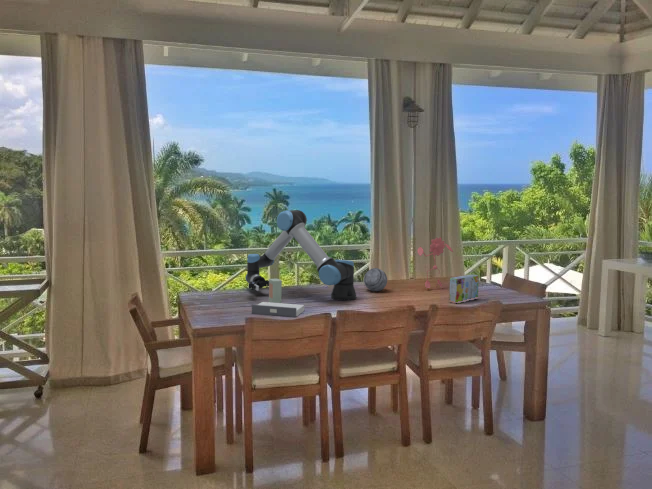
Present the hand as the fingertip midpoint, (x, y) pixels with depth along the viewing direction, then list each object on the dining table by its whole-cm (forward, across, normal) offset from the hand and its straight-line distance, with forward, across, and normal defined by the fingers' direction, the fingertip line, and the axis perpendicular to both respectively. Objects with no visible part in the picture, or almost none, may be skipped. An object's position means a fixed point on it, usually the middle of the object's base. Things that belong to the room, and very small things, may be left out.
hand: (269, 287), depth 304 cm
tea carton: (+10, 0, -8) cm, 12 cm away
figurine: (+9, -112, -8) cm, 113 cm away
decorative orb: (-3, -73, -8) cm, 73 cm away
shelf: (+27, +4, -8) cm, 28 cm away
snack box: (+42, -107, -8) cm, 115 cm away
